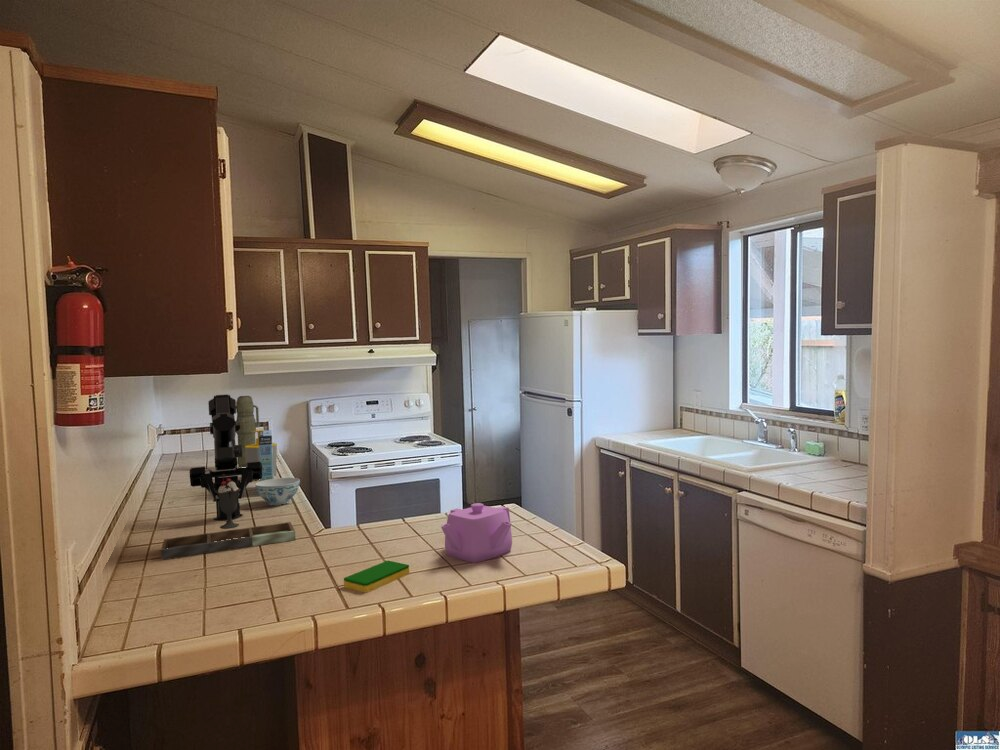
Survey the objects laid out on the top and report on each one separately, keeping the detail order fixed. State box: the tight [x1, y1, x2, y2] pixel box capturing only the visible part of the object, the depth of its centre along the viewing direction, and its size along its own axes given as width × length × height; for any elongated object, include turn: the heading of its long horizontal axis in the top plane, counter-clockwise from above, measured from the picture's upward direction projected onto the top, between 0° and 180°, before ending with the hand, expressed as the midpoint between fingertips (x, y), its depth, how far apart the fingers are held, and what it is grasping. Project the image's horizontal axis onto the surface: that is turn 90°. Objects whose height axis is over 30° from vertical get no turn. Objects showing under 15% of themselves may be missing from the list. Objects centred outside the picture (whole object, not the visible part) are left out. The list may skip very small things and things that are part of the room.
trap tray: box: [160, 521, 296, 560], centre depth 176 cm, size 33×12×2 cm, turn 114°
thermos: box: [235, 395, 260, 468], centre depth 304 cm, size 9×12×35 cm
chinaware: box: [254, 477, 301, 506], centre depth 225 cm, size 15×15×8 cm
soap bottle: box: [245, 429, 278, 477], centre depth 276 cm, size 13×13×21 cm
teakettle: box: [440, 502, 513, 564], centre depth 159 cm, size 17×17×12 cm
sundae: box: [215, 474, 241, 530], centre depth 175 cm, size 7×7×15 cm
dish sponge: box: [343, 560, 410, 593], centre depth 142 cm, size 7×14×2 cm, turn 146°
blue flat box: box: [259, 429, 274, 482], centre depth 248 cm, size 20×5×23 cm, turn 20°
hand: (228, 498), depth 174 cm, fingers closed on sundae, 6 cm apart
